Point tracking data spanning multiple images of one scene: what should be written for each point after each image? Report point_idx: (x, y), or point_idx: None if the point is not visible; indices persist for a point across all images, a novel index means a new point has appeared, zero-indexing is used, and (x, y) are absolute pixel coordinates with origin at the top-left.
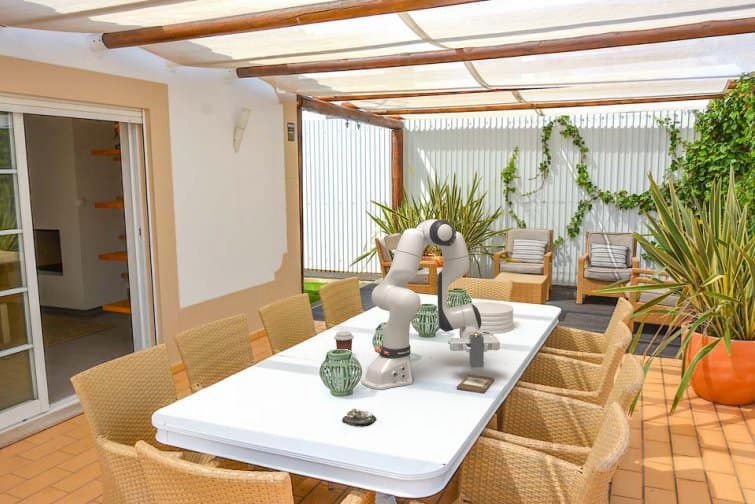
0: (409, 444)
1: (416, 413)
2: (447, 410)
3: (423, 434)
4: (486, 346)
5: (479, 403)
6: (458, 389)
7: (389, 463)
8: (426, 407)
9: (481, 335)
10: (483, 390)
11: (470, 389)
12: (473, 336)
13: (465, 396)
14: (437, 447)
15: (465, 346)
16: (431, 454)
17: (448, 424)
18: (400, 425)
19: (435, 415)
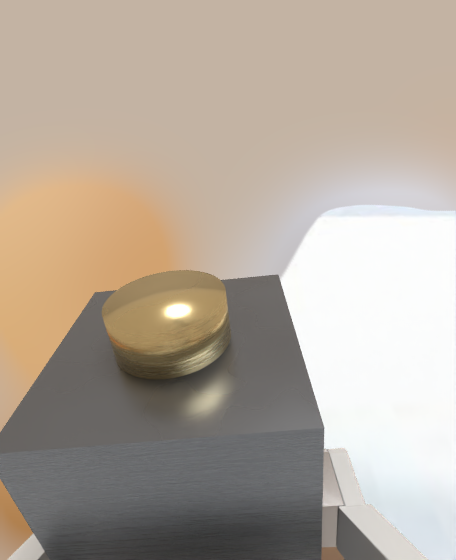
0: (390, 231)
1: (452, 307)
2: (361, 331)
3: (379, 250)
4: (30, 540)
5: None
6: None
7: (395, 207)
8: (444, 340)
9: (58, 371)
10: None
11: None
12: (230, 320)
13: None
14: (337, 233)
15: (381, 514)
16: (342, 223)
17: (337, 279)
18: (453, 264)
19: (387, 305)
